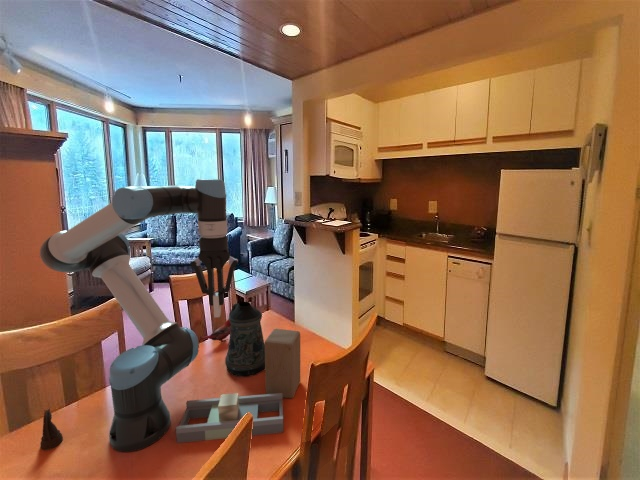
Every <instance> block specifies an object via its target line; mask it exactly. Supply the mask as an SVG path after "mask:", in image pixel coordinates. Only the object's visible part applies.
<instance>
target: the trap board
mask: <svg viewBox="0 0 640 480" xmlns="http://www.w3.org/2000/svg"><path fill="white" fill-rule="evenodd" d="M220 398H221V397H216V398H215V397H214V398H205V399H194V400H193V399H191V400H186V403H185V404H186V408H185V411H184V413H183V415H182V418H181V421H180V424H179V425H176V427H175V434H176V435H175V436H176V443H178V444H181V443H190V442H200V441H202V442H203V441H209V440H210V441H211V440H219V439H221V440H222V439H228V438H227V437H228V435H229V434H230V433H231V432H232V430H233V429H234V428H235V426H236V425H237V423H238V422H239V421H240V419H241V418H242V417H243V416H244V415H245V414H246V413H248V412H250V413H251V414H252V415H253V429H252V436H261V435H262V436H263V435H270V434H271V435H272V434H281V433H282V434H283V433H284V411H283V410H284V408H283V407H284V406H283V405H284V402H283V397H282V393H276V394H266V393H263V394H253V395H243V396H242V395H241V396H239V411H238V417H237V420H232V421H221V422H219V411H218V405H219V401H220ZM269 412H270V413H271V412H279V416H270V417H259V414H260V413H269ZM201 417H202V418H207V422H205V423H193V424H189V422H190V420H191V419H190V418H192V419H200V418H201ZM202 418H201V419H202Z"/></svg>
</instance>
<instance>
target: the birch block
mask: <svg viewBox="0 0 640 480" xmlns="http://www.w3.org/2000/svg"><path fill="white" fill-rule="evenodd" d="M219 398H220V401H219V405H218V411H219V422H221V421H232V420H237V417H238V411H239V393H238V392H235V393H223V394H220V397H219Z"/></svg>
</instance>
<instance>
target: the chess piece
mask: <svg viewBox="0 0 640 480" xmlns="http://www.w3.org/2000/svg"><path fill="white" fill-rule="evenodd" d="M42 421H43V422H42V424H43V425H42V436H41V438H40V439H41V441H40V449H41V450H43V451H48V450H51V449H54V448H56V447H58V446H59V445H60V444H61V443H62V442H63V439H64V437H63V434H62V432H61V431H60V429H58V428H57V426H56V424H54V422H52V413H51V409H50V407H49V408H48V409H45V411H44V413H43V420H42Z"/></svg>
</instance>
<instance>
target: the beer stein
mask: <svg viewBox="0 0 640 480" xmlns="http://www.w3.org/2000/svg"><path fill="white" fill-rule="evenodd" d="M262 318H263V313H262V312H261V311H260V310H259V309H257V308H256V307H255V306H253V305H251V303H250V302H249V301H241V302H239V303H238V302H236V303H234V304H233V305H232V308H231V310H230V312H229V315H228V319H229V321H230V325H231V330H230V334H229V338H228V348H227V353H226V356H225V360H224V363H225V366H226V370H227V372H228V373H229V374H231V375H232V376H235V377H238V378H245V377H246V378H247V377H248V378H249V377H251V376H257V375H258V374H259V373H262V372H263V371H265V340H264V336H263V335H264V333H263V330H262V329H263V328H262V325H261V321H262Z"/></svg>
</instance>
